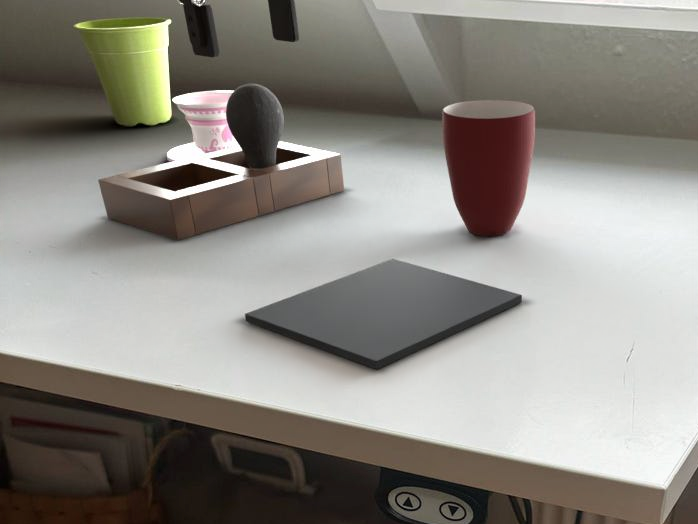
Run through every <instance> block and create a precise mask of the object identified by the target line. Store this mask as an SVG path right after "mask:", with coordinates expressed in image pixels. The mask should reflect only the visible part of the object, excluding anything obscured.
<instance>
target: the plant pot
mask: <svg viewBox="0 0 698 524" xmlns="http://www.w3.org/2000/svg"><path fill="white" fill-rule="evenodd" d="M171 23H172V20H171V19H170V18H165V17H152V16H151V17H147V16H145V17H144V16H142V17H141V16H140V17H115V18H113V17H112V18H102V19H94V20H93V19H92V20H87V21H82V22H77V23H75V24H74V25H73V28H74V29H75V30H77V31H79V34H80V37H81V39H82V41H83V44H84V47H85V49H86V50H87V51H88V52H89V55H90V58H91V61H92V63H93V65H94V68H95V71H96V74H97V76H98V79H99V81H100V84H101V87H102V89H103V91H104V94H105V98H106V100H107V102H108V105H109V107H110V110H111V112H112V116H113V117H114V121H115V122H116V123H117V125H118V124H119V125H120V126H126V127H133V126H134V127H135V126H136V125H138V124H143V125H145V126H156V125H158V124H165V123H167V122H168V121H170V120H171V118H172V103H171V87H170V72H169V71H170V70H169V69H170V68H169V53H168V52H169V51H168V47H169V45H170V44H169V25H170V24H171Z"/></svg>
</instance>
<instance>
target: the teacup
mask: <svg viewBox="0 0 698 524" xmlns="http://www.w3.org/2000/svg"><path fill="white" fill-rule="evenodd" d="M233 91H234V90H231V89H230V90H226V89H223V90H222V89H221V90H219V89H217V90H205V91H203V90H202V91H195V92H191V93H190V92H189V93H185V94H181V95H178V96H175V97H173V98H172V102H173V103H174V104H175V106H176V108H177V109H178V110H179V111H180V112H182V113H183V114H184V117H185V121H187V123H188V125H189V126H190V129H191V132H192V139H193V142H190V143H186V144H181V145H179V146H176V147H173V148H171V149H170V150H169V151H168V152H167V153H166V158H167V161H168V162H173V161H177V160H182V159H186V158H190V157H194V156H198V155H202V154H207V153H211V152H215V151H219V150H223V149H227V148H232V147H236V146H239V144H238V143H237V141H236V140H235V138H234V137H233V135H232V133H231V131H230V129H229V127H228V123H227V119H226V107H227V103H228V100H229V97H230V96H231V94H232V93H233Z"/></svg>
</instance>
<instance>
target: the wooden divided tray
mask: <svg viewBox="0 0 698 524" xmlns="http://www.w3.org/2000/svg"><path fill="white" fill-rule="evenodd" d="M342 163H343V162H342V154H341V153H337V152H332V151H329V150H322V149H319V148H314V147H308V146H305V145H304V146H303V145H299V144H294V143H290V142H285V141H281V140H280V141H279V144H278V147H277V151H276V163H275V165H274V166H270V167H267V168H263V169H259V170H252V169H250V167H249V165H248V163H247V160H246V157H245V154H244V152H243V151H242V149H241V147H240V146H236V147H232V148H227V149H223V150H219V151H215V152H211V153H207V154H202V155H198V156H194V157H190V158H186V159H182V160H177V161H173V162H171V161H168V162H166V163H160V164H157V165H152V166H149V167H144V168H141V169H136V170H131V171H128V172H127V171H126V172H123V173H119V174H116V175H111V176H107V177H103V178H99V179H98V185H99V189H100V191H101V196H102V200H103V205H104V208H105V213H106V217H107V218H108V219H109V220H113V221H117V222H119V223H122V224H126V225H130V226H132V227H136V228H138V229H141V230H145V231H148V232H151V233H155V234H157V235H161V236H164V237H166V238H169V239H173V240H177V241H181V240H184V239H187V238H190V237H194V236H197V235H200V234H204V233H208V232H210V231H214V230H217V229H220V228H224V227H228V226H230V225H234V224H237V223H241V222H244V221H248V220H251V219H254V218H258V217H260V216H263V215H267V214H271V213H274V212H278V211H280V210H284V209H287V208H291V207H294V206H298V205H301V204H304V203H308V202H310V201H314V200H317V199H321V198H323V197H328V196H331V195H334V194H337V193H340V192H341V193H342V192H345V184H344V176H343V175H344V174H343V173H344V172H343V165H342Z"/></svg>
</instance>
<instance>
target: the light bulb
mask: <svg viewBox="0 0 698 524" xmlns="http://www.w3.org/2000/svg"><path fill="white" fill-rule="evenodd" d="M232 91H233V93H232V94H231V96H230V97H229V100H228V103H227V107H226V119H227V123H228V127H229V129H230V131H231V133H232V135H233V137H234V138H235V140H236V141H237V143H238V144H239V146H240V147H241V149H242V151H243V152H244V154H245V157H246V160H247V163H248V165H249V167H250V169H252V170H259V169H263V168H267V167H270V166H274V165H275V163H276V151H277V147H278V144H279V141H281V138H282V135H283V132H284V125H285V117H284V116H285V115H284V112H283V108H282V105H281V103H280V101H279V99H278V98H277V96H276V95H275V94H274V92H272V91H271V90H270V89H268V88H267V87H266V86H264V85H261V84H258V83H245V84H241V85H240V86H238V87H237V88H236V89H235V90H232Z"/></svg>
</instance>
